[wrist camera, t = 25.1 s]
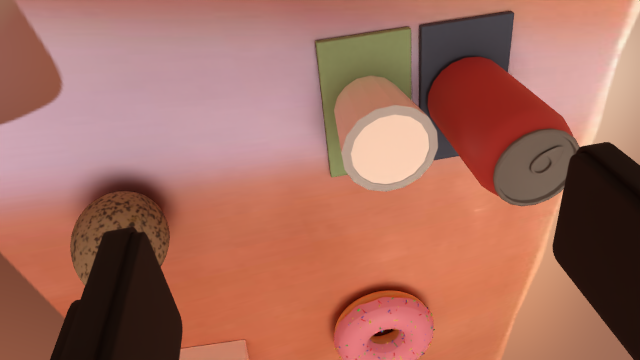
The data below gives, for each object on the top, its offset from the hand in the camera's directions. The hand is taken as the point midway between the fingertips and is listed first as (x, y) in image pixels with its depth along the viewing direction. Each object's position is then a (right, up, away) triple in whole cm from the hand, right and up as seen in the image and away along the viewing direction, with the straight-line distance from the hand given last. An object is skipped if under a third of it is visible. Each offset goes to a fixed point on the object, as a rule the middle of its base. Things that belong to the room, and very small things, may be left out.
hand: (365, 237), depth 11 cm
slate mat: (+11, +9, +30) cm, 33 cm away
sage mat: (+3, +7, +30) cm, 31 cm away
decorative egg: (-17, -1, +32) cm, 36 cm away
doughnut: (+6, -14, +44) cm, 47 cm away
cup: (+3, +7, +29) cm, 30 cm away
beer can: (+11, +8, +30) cm, 33 cm away
